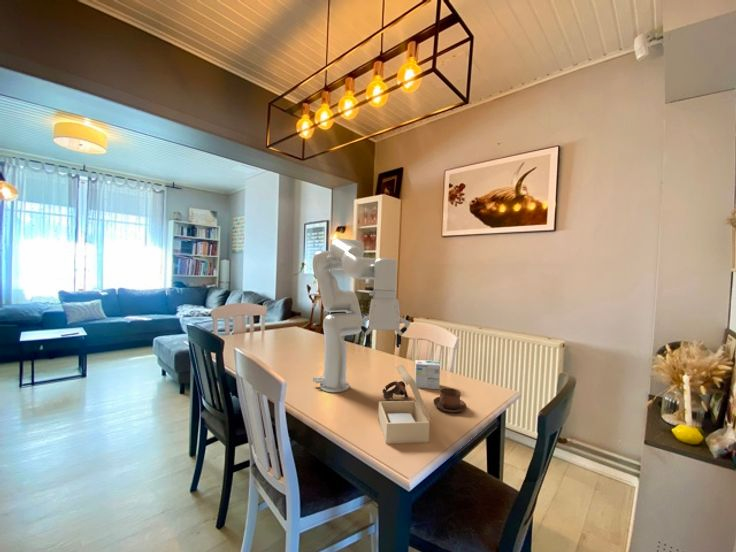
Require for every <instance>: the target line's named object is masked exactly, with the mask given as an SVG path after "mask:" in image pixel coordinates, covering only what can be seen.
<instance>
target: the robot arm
mask: <svg viewBox="0 0 736 552" xmlns="http://www.w3.org/2000/svg"><path fill="white" fill-rule="evenodd" d="M364 254H365V245H364V243H362V241H360V240H357V239H349V238H348V239H347V238H338V239H335V240H333V241H332V242H331V243H330V245H329V250H320V251H317V252H316V253H315V254H313V257H312V270H313V273H314V275H315V278H316V280H317V283H318V286H319V292H320V293H319V294H320V296H321V297H320V299H321V303H322V307H323V309H324V311H325V312H329V313H331V314H328V315H326V316H325V317H324V318H323V321H322V322H323V323H322V328H323V333H324V334H323V335H324V357H323V359H324V361H323V362H324V363H323V375H322V376H319V377H318V376H314V377H313V378H312V382H313V383H315V384H319V388H320V390H322V391H324V392H327V393H341V392H345V391H348V390H349V389H350V383H349V382H348V381H347V357H348V355H347V354H348V346H347V343H346V341H345V339H344V338H343V336H353V335H358V334H359V333H361V332H362V331H363V332H364V334H365V344H367V347H368V348H370V347H371V332H372V331H374V330H375V331H396V337H395V338H396V339H395V346H396V348H400V345H402V336H403V334H404V333H405V332H406V331H407V330H408V328H409V326H410V324H411V322H410V321H409V320H407V319H405V318H403V317H402V316H400V313H401V312H400V311H401V310H400V304H399V299H397V278H398V277H397V276H398V275H397V274H398V272H397V271H398V262H397V260H396V259H395V258H391V257H388V258H387V257H379V258H375V257H364ZM331 271H343V272H344V273H345V274H347V275H348V276H349V277H351V278H353V279H356V280H373V290H370V291H369V295H368V296H371V297H373V298H371V299H370V303H369V312H368V315H366V316H364V317H363V316H362V311H361V307H360V303H359V300H358V296H357V295H356V293H355V292H354V291H353V290H349V289H342V290H341V289H340V287H339V282H338V279H337V278H336V276H335V275H334V274H333V273H332V272H331ZM335 312H336V313H335ZM367 321H368V326H367V327H366V326H365V325H364V323H365V322H367ZM400 322H401V323H403V324H404V325H403V327H402V328H400Z"/></svg>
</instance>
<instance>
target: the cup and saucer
mask: <svg viewBox="0 0 736 552" xmlns="http://www.w3.org/2000/svg"><path fill="white" fill-rule="evenodd" d="M439 390H440V391H439V396H437V397H434V399H433V404H434V405H435V407H436V408H438V409H440V411H443V412H446V413H447V412H449V413H459V412H463V411H464V410H465V409H466V408H467V404H466V402H465V401H463V400H462V399H461V392H460V390H457V389H454V388H452V387H451V388H450V387H444V388H441V389H439Z"/></svg>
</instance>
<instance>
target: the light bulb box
mask: <svg viewBox="0 0 736 552" xmlns="http://www.w3.org/2000/svg"><path fill="white" fill-rule="evenodd" d="M414 363H415V364H414V366H415V367H414V381H415V383H416V386H417V388H418V389H429V390H431V389H432V390H440V377H441V374H440V373H441V365H440V363H439V360H428V359H427V360H423V359H415V362H414Z"/></svg>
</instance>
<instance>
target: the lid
mask: <svg viewBox="0 0 736 552" xmlns="http://www.w3.org/2000/svg"><path fill="white" fill-rule="evenodd" d="M395 369H396V371H397V372H398V374H399V375H400V377H401V379H402V381H403V382H404V383H405V386H408V385H409V387H410V389H411V390H412V391H411V392H412V394H413V396H414V399H415V401H416V402H417V404H418V405H419V407H420V408H421V410H422V411H423V413H424V415H425V416H426V418H427V419H428V421H429V422H430V421H431V419H432V418H431V417H430V415H429V412H428V410H427V407H426V405H425V402H424V400H423V398H422V395H421V393H420V391H419V388H417V386H416V383H415V379H413V377H412V376H411V375H410V373H409V372H408V371H407V369H406V367H405V366H404V365H403V364H401V365H398V366H396V367H395Z"/></svg>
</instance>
